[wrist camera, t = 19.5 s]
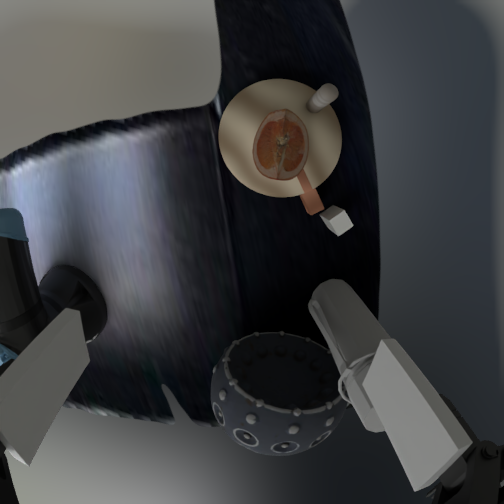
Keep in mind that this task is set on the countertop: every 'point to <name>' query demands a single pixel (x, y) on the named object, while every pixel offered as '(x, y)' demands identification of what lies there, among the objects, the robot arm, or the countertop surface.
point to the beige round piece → (314, 118)
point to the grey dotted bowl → (277, 393)
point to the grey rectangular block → (336, 220)
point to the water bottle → (349, 342)
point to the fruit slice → (281, 145)
